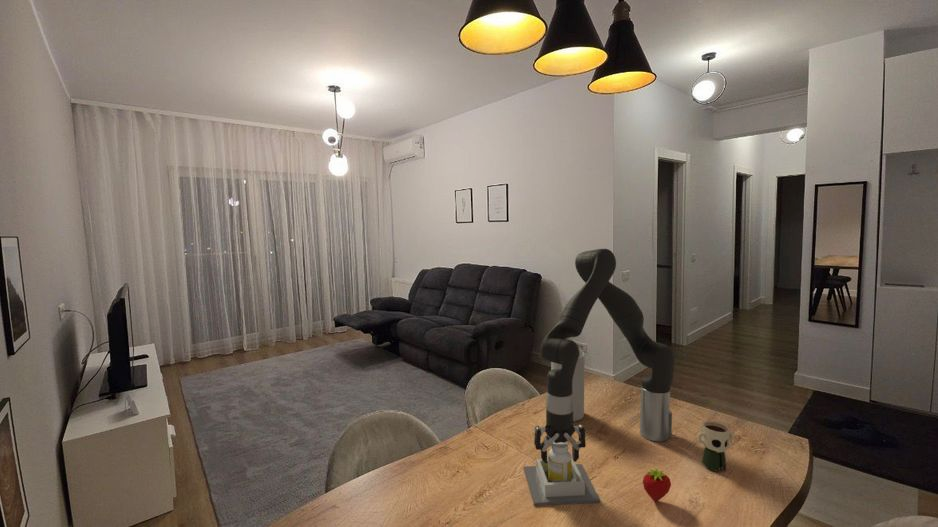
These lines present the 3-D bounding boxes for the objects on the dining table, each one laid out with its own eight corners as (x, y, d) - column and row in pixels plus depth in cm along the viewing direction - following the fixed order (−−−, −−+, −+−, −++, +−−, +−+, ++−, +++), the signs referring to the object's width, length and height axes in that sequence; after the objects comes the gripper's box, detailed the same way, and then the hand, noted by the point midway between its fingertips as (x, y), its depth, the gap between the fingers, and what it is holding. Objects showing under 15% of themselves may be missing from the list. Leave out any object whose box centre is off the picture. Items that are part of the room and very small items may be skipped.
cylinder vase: (587, 422, 151) (588, 358, 148) (554, 422, 151) (554, 358, 148) (579, 407, 163) (579, 347, 161) (548, 407, 163) (548, 348, 161)
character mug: (704, 475, 119) (706, 433, 117) (689, 461, 126) (691, 421, 124) (739, 472, 119) (741, 431, 118) (722, 458, 126) (724, 419, 125)
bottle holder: (581, 466, 124) (581, 453, 124) (600, 502, 108) (600, 487, 108) (523, 468, 124) (523, 455, 123) (533, 505, 108) (533, 490, 107)
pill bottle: (569, 475, 119) (569, 438, 118) (572, 489, 112) (573, 450, 111) (547, 474, 119) (547, 437, 118) (549, 488, 113) (549, 449, 112)
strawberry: (676, 506, 106) (677, 470, 105) (651, 511, 104) (652, 475, 103) (660, 491, 112) (661, 457, 111) (636, 496, 110) (637, 462, 109)
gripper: (580, 400, 117) (580, 452, 119) (532, 402, 117) (532, 454, 119) (588, 412, 110) (588, 467, 112) (537, 414, 109) (537, 470, 111)
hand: (559, 461), depth 115 cm, fingers open, 8 cm apart
